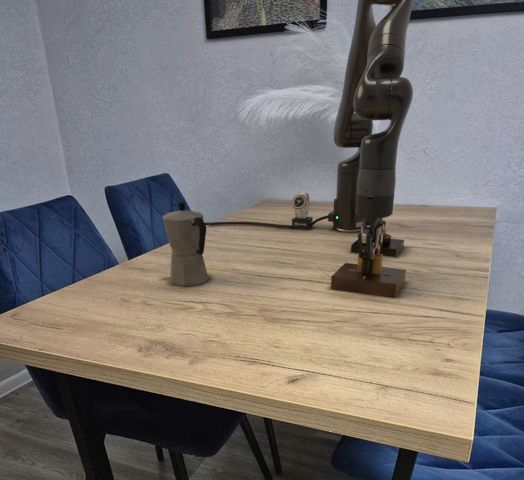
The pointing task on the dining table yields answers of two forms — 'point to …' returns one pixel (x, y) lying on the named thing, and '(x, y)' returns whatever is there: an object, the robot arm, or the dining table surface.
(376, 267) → the thumbturn
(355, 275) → the plate
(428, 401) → the dining table surface
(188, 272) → the coffeepot
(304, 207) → the watch
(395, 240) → the alarm box
